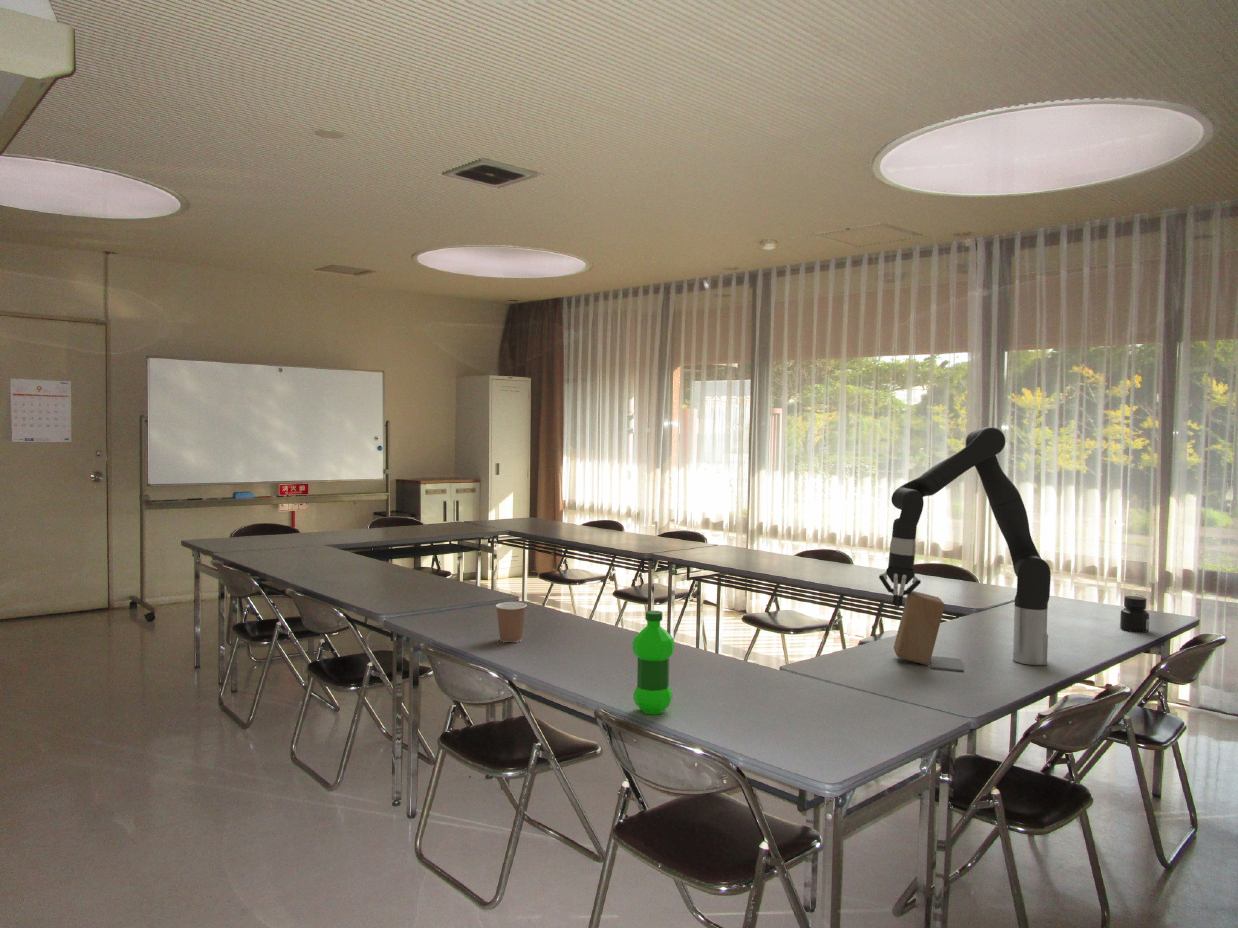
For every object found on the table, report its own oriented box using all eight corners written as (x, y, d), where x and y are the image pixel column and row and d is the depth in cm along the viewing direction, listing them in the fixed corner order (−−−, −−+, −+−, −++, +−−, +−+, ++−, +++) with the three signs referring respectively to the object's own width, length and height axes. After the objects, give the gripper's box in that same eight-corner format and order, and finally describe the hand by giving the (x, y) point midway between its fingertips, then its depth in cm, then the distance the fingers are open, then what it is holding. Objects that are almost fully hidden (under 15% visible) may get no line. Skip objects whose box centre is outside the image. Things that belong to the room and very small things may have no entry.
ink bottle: (1154, 633, 296) (1156, 600, 295) (1130, 633, 296) (1131, 600, 295) (1138, 627, 305) (1139, 595, 305) (1114, 626, 305) (1115, 594, 305)
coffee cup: (529, 637, 280) (529, 602, 279) (522, 644, 269) (523, 608, 269) (499, 636, 281) (499, 601, 280) (492, 643, 270) (492, 607, 270)
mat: (961, 660, 257) (961, 658, 257) (963, 671, 245) (963, 669, 245) (930, 657, 260) (930, 655, 260) (931, 668, 248) (931, 666, 248)
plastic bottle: (676, 717, 203) (677, 616, 202) (633, 717, 202) (635, 616, 201) (670, 703, 212) (671, 608, 212) (630, 704, 212) (631, 608, 211)
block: (929, 666, 250) (946, 603, 248) (896, 657, 252) (912, 595, 250) (924, 657, 260) (940, 597, 258) (892, 649, 262) (908, 588, 260)
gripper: (924, 552, 257) (919, 607, 259) (880, 547, 262) (875, 601, 263) (925, 556, 250) (919, 612, 252) (879, 551, 255) (874, 605, 256)
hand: (897, 606), depth 257 cm, fingers closed
